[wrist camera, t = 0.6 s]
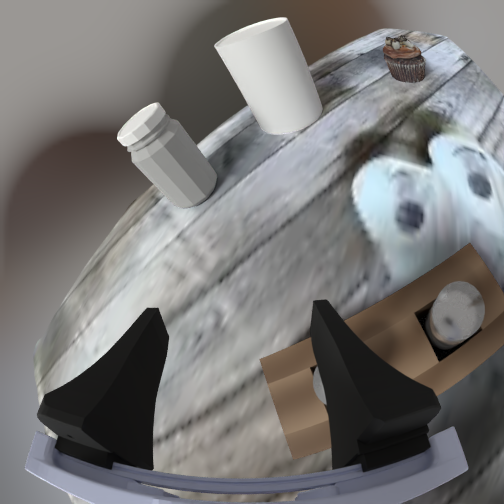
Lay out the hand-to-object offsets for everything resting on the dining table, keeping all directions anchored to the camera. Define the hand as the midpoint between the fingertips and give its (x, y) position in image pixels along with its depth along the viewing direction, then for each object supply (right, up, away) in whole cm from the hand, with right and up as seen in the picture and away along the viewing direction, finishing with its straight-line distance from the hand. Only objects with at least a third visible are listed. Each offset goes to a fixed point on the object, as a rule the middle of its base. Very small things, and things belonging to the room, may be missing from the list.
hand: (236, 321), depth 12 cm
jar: (-9, +14, +37) cm, 40 cm away
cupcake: (+36, +42, +31) cm, 63 cm away
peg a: (+18, -3, +6) cm, 19 cm away
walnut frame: (+15, -7, +10) cm, 19 cm away
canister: (+9, +31, +38) cm, 49 cm away
